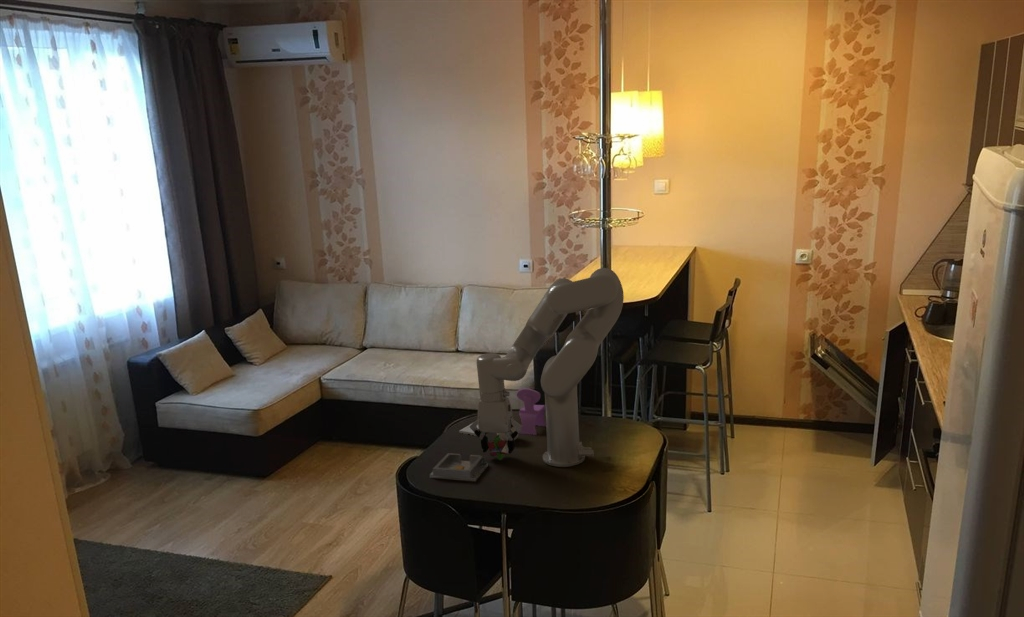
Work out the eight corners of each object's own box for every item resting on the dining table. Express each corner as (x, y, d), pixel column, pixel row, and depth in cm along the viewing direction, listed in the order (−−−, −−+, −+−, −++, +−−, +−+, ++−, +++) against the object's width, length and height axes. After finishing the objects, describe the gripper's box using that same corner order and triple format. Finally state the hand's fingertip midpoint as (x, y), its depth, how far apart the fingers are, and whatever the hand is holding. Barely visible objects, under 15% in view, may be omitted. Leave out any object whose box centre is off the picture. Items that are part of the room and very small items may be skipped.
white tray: (488, 465, 232) (487, 455, 231) (475, 481, 221) (474, 471, 220) (444, 462, 236) (443, 452, 235) (429, 478, 225) (428, 468, 225)
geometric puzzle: (477, 451, 234) (494, 435, 231) (487, 442, 240) (503, 427, 237) (494, 469, 233) (511, 453, 230) (503, 459, 239) (519, 444, 236)
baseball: (498, 437, 253) (497, 417, 252) (521, 437, 252) (519, 417, 251) (495, 445, 247) (493, 425, 246) (518, 445, 246) (516, 425, 244)
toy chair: (549, 425, 260) (547, 382, 257) (539, 435, 253) (536, 391, 250) (526, 423, 264) (524, 381, 261) (516, 432, 256) (513, 389, 253)
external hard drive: (500, 425, 265) (479, 438, 255) (480, 422, 269) (459, 434, 259) (500, 421, 265) (478, 433, 254) (480, 417, 269) (458, 429, 259)
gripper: (524, 391, 232) (529, 447, 236) (469, 390, 238) (475, 445, 241) (516, 399, 225) (522, 457, 229) (460, 399, 231) (467, 455, 234)
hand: (498, 450), depth 235 cm, fingers closed on geometric puzzle, 7 cm apart
